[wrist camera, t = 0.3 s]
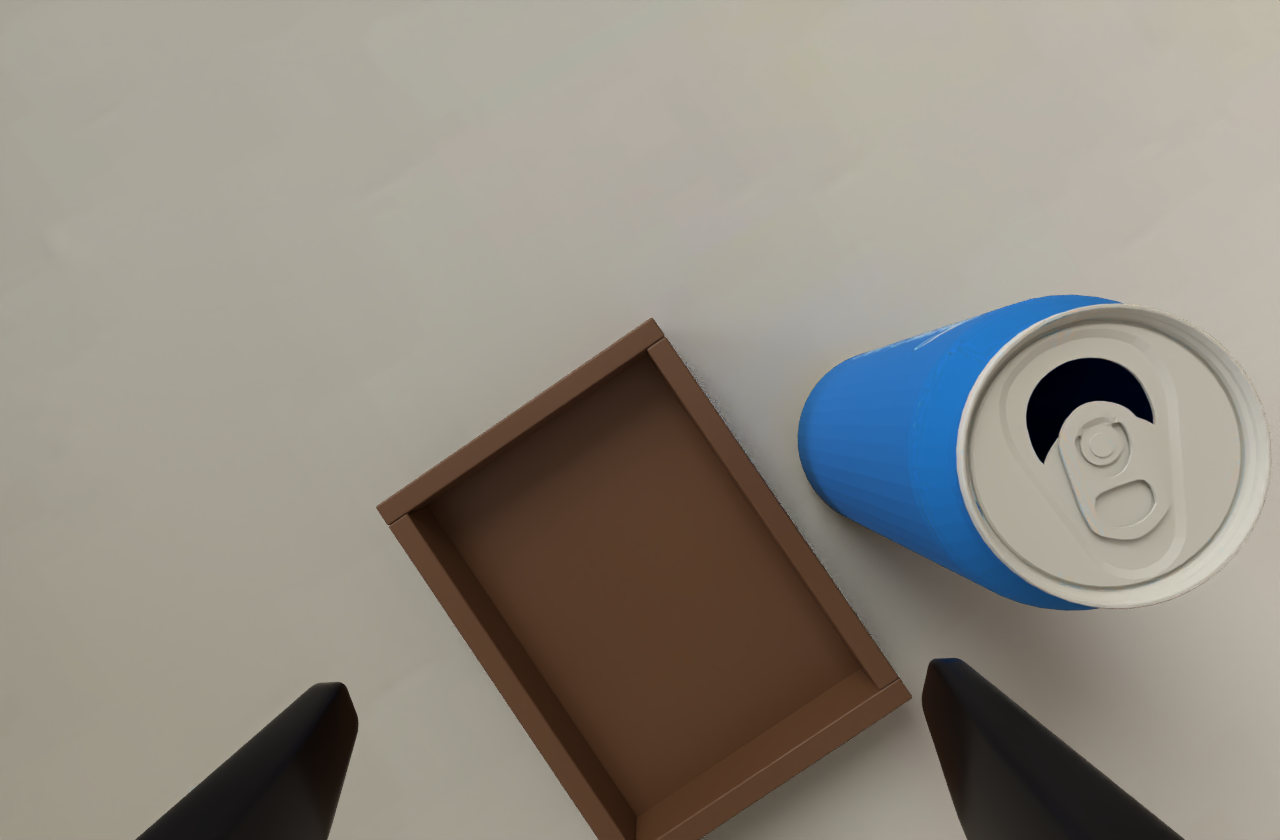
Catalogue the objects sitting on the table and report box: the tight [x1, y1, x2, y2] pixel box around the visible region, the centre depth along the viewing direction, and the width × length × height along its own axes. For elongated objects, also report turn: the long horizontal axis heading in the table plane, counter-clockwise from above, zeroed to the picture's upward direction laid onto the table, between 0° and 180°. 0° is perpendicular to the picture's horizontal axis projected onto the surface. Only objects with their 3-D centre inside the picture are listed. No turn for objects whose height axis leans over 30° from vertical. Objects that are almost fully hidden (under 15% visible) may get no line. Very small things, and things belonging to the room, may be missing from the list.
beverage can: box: [798, 295, 1271, 610], centre depth 17 cm, size 6×6×12 cm
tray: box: [376, 318, 912, 840], centre depth 22 cm, size 16×12×3 cm
